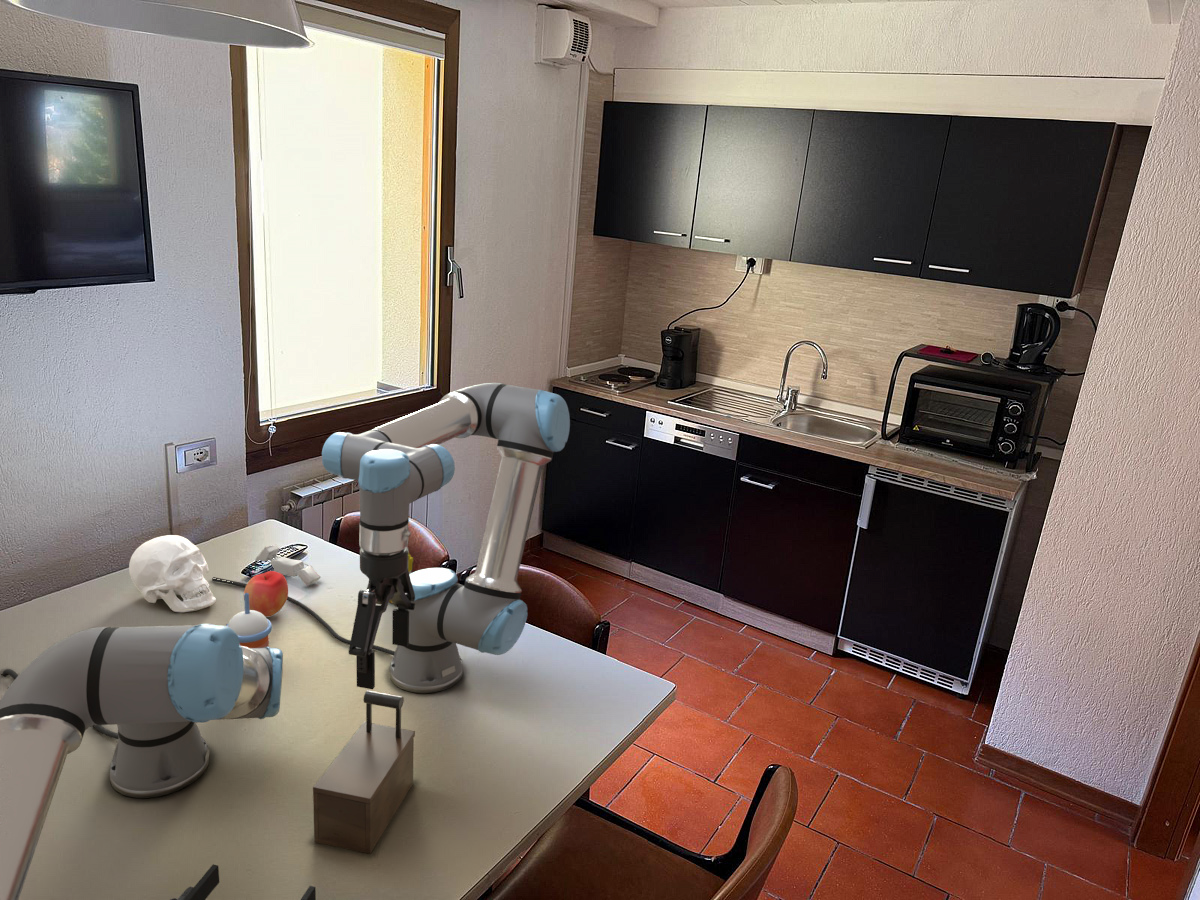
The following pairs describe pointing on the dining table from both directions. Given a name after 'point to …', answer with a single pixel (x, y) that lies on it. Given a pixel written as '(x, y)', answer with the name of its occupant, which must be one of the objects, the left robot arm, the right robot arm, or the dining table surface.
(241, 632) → the cup with straw
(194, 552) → the skull
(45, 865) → the dining table surface
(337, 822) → the chest
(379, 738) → the lid
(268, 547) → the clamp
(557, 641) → the dining table surface
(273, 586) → the apple
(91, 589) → the dining table surface
